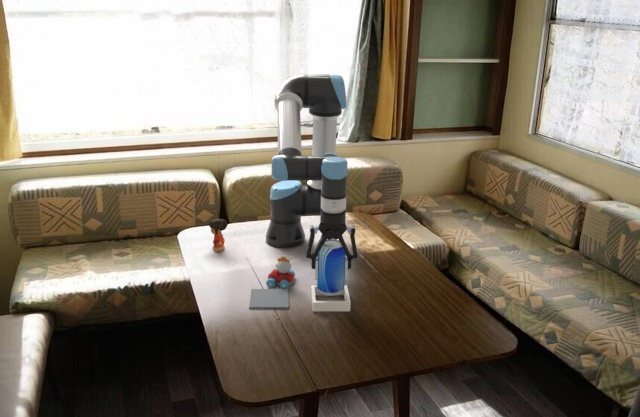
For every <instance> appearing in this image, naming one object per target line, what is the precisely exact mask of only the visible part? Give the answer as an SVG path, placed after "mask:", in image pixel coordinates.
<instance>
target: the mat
mask: <svg viewBox="0 0 640 417" xmlns="http://www.w3.org/2000/svg"><path fill="white" fill-rule="evenodd" d="M289 290H290V289H289V288H287V289H281V288H251V290H250V298H249V310H253V309H254V310H267V309H268V310H273V309H274V310H279V309H280V310H288V309H290V301H289V300H290V299H289V294H290V292H289Z"/></svg>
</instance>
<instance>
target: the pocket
mask: <svg viewBox="0 0 640 417" xmlns="http://www.w3.org/2000/svg"><path fill="white" fill-rule="evenodd" d="M310 286H311V288H310V295H311V309H312V312H351V305H352V304H351V303H352V301H351V298H350V293H349V288H348V287H349V286H348V285H347V284H344V289H343V290H342V291H341V293H340V294H338V295H337V296H343V298H344V300H316V296H325V295H324V294H322V293H321V292H320V291H319V289H318V288H317V284H316V285H313V284H311V285H310Z"/></svg>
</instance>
